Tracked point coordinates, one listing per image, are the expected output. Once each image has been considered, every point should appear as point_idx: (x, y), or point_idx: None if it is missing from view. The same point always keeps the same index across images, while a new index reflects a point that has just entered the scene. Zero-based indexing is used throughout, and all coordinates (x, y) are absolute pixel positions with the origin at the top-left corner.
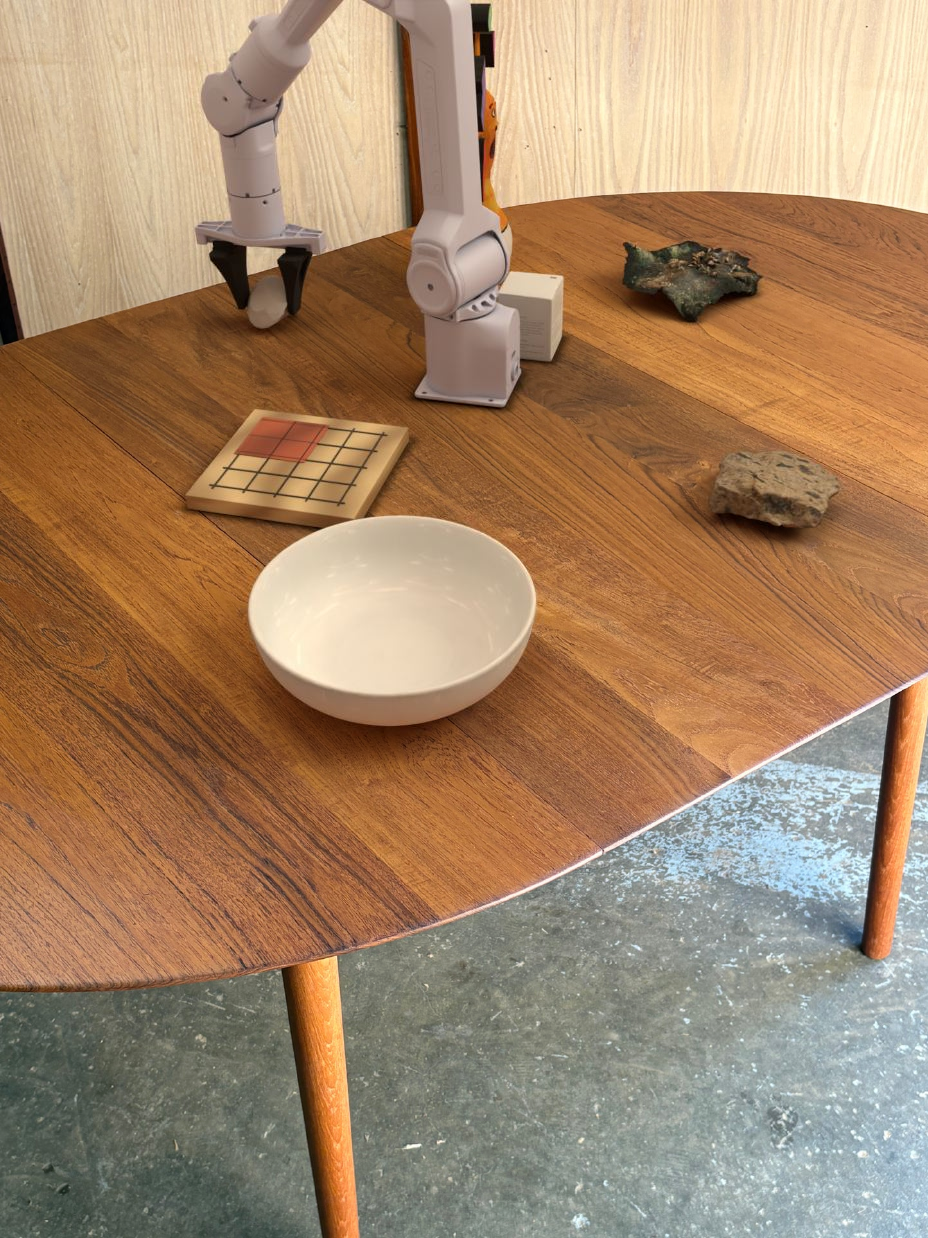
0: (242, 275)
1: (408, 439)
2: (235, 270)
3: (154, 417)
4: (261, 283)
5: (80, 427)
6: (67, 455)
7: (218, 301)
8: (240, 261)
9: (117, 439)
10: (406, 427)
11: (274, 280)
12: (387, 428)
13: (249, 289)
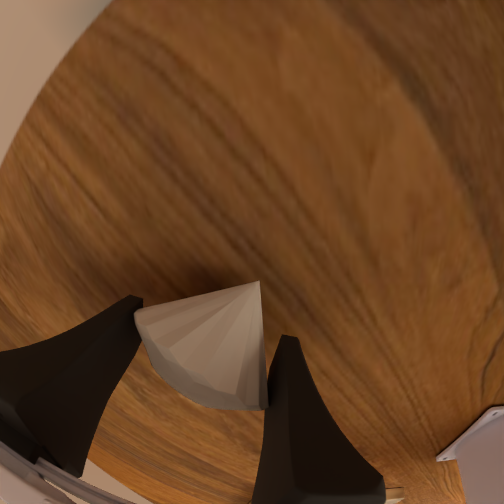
0: (98, 368)
1: (403, 489)
2: (91, 419)
3: (158, 464)
4: (166, 374)
5: (107, 455)
6: (125, 473)
7: (56, 177)
8: (75, 404)
9: (147, 473)
10: (403, 498)
11: (211, 397)
12: (388, 501)
13: (125, 314)
